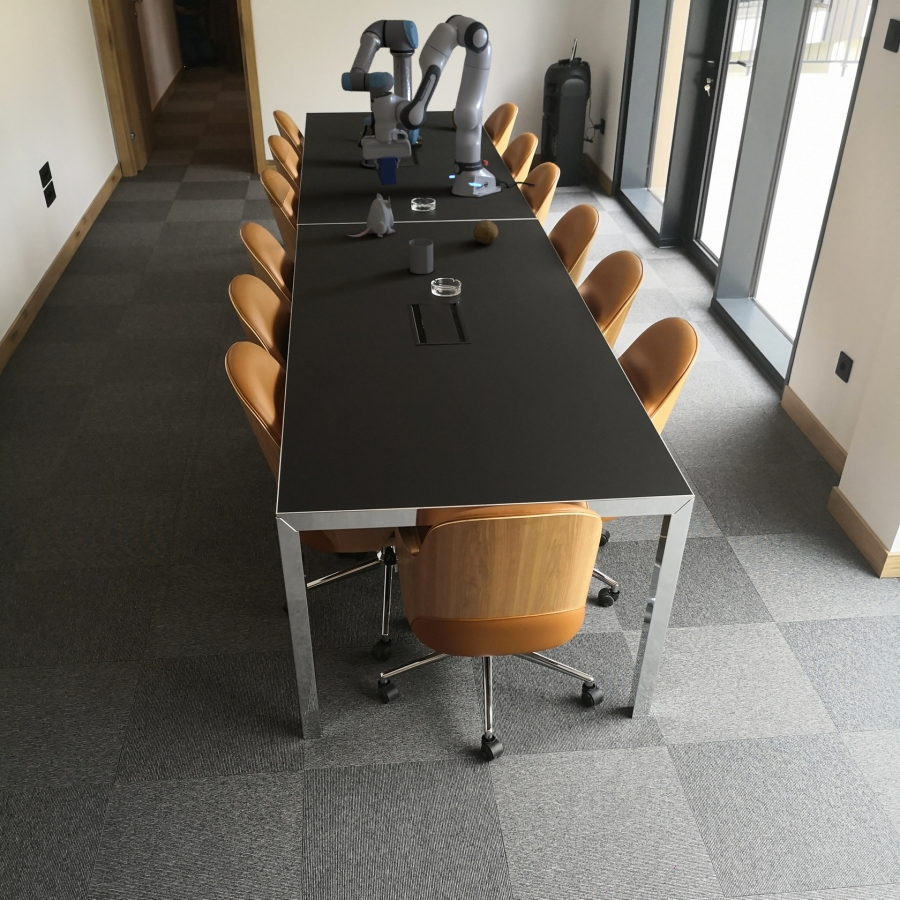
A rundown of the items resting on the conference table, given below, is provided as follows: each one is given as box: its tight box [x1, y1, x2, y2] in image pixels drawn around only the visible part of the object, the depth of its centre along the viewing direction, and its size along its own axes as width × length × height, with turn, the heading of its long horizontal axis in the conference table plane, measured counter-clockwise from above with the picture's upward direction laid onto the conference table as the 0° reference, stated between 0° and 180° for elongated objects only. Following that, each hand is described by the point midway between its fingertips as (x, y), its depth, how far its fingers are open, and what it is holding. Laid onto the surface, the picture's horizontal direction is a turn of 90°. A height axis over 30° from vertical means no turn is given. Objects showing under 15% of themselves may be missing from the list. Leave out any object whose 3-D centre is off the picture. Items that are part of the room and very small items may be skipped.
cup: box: [408, 237, 434, 275], centre depth 305 cm, size 8×8×10 cm
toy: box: [347, 192, 396, 238], centre depth 333 cm, size 9×24×15 cm, turn 137°
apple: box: [451, 107, 457, 131], centre depth 487 cm, size 11×11×13 cm
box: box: [374, 157, 397, 186], centre depth 372 cm, size 28×6×11 cm, turn 10°
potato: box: [472, 219, 499, 245], centre depth 330 cm, size 10×14×8 cm
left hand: (381, 162), depth 382 cm, fingers open, 13 cm apart
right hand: (387, 168), depth 363 cm, fingers closed on box, 6 cm apart
